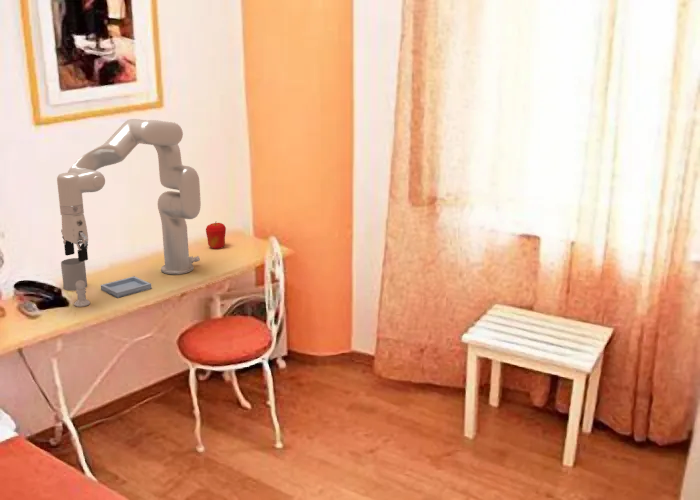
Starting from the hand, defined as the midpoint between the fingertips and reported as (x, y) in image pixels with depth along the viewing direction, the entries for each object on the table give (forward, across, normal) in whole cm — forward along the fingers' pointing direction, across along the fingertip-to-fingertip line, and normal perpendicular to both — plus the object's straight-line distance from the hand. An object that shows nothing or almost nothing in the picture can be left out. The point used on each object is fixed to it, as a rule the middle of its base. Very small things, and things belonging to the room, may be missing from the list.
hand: (76, 257), depth 280 cm
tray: (+17, +3, -19) cm, 26 cm away
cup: (+18, +19, -7) cm, 27 cm away
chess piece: (+18, 0, 0) cm, 18 cm away
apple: (+17, +23, -74) cm, 80 cm away
